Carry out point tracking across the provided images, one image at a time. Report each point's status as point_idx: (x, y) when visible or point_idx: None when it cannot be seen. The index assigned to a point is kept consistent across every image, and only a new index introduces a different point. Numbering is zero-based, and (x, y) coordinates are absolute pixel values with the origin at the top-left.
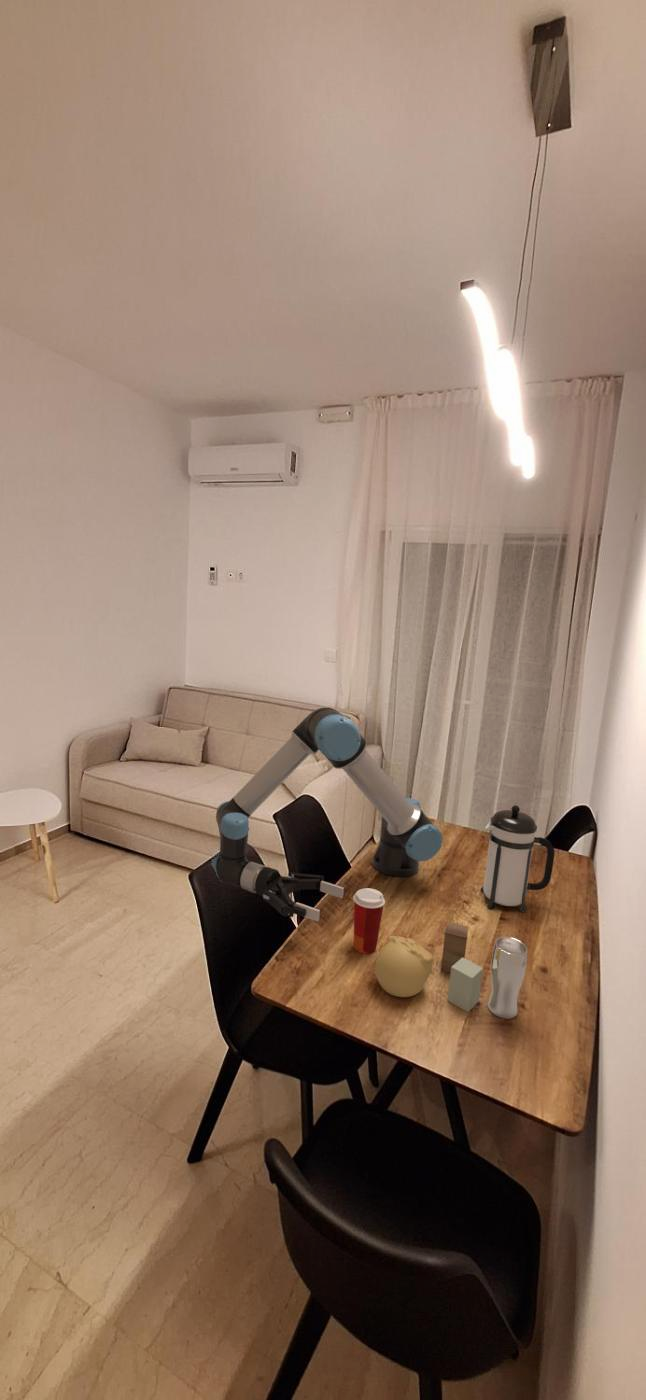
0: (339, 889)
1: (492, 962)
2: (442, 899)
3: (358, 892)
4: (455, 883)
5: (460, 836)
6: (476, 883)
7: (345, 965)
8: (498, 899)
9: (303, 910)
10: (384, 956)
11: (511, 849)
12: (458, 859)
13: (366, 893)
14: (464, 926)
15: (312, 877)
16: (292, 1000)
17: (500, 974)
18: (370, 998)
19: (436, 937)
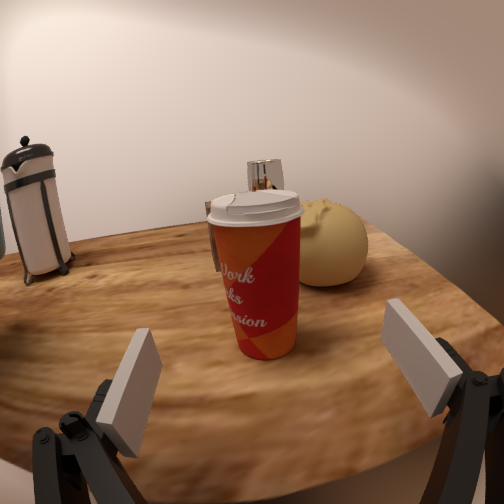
0: (147, 344)
1: (276, 182)
2: (42, 306)
3: (263, 202)
4: (4, 305)
5: None
6: (8, 292)
7: (359, 333)
8: (64, 256)
9: (440, 341)
10: (358, 223)
11: (52, 179)
12: None
13: (251, 199)
14: (207, 202)
15: (61, 489)
16: (496, 322)
17: (283, 186)
18: (383, 282)
19: (158, 288)
